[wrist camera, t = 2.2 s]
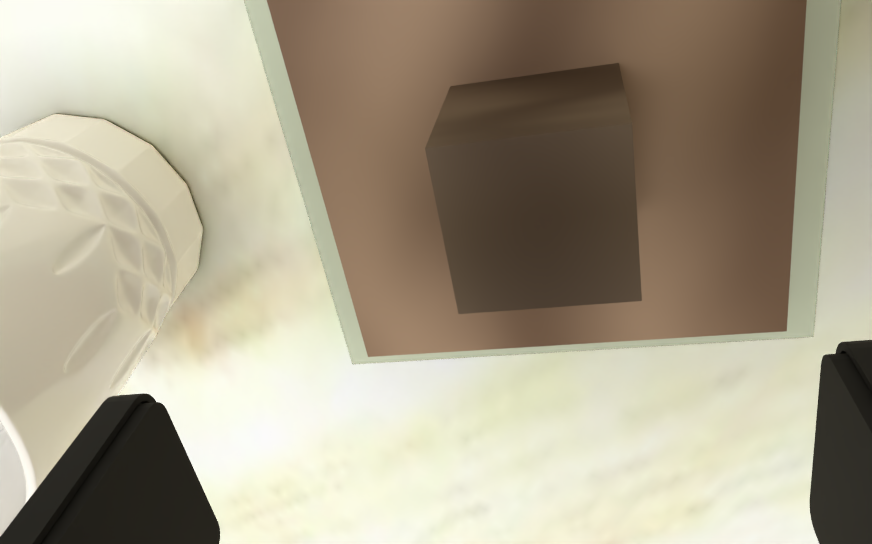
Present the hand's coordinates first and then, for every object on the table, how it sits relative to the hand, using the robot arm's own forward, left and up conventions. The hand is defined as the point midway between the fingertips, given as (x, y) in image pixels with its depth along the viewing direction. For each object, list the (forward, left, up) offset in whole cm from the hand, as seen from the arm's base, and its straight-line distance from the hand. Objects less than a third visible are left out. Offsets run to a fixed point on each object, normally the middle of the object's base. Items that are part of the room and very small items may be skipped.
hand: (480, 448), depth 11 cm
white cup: (+13, +1, -12) cm, 18 cm away
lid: (-1, 0, -11) cm, 11 cm away
